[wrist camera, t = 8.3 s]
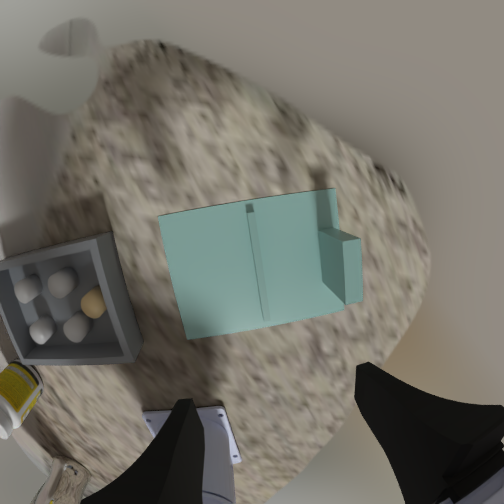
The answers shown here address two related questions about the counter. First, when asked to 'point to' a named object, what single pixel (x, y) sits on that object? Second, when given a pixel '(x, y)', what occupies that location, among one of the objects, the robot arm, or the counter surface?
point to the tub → (69, 304)
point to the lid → (261, 262)
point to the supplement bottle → (17, 395)
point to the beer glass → (63, 483)
